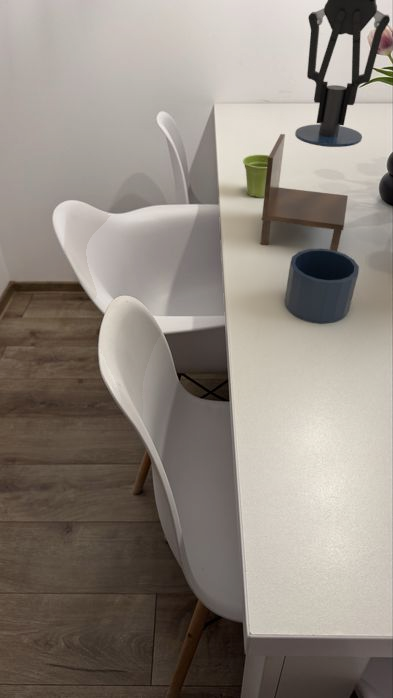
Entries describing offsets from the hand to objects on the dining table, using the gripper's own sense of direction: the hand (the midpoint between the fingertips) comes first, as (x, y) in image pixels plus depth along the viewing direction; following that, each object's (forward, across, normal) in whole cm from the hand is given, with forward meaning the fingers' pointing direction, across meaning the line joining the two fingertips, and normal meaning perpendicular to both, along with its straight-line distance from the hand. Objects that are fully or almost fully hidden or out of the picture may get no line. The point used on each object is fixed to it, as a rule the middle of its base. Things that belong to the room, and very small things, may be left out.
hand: (330, 122), depth 91 cm
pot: (+25, +4, -24) cm, 35 cm away
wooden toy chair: (+25, -2, +4) cm, 26 cm away
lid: (+3, 0, 0) cm, 3 cm away
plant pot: (+26, -16, +24) cm, 39 cm away
